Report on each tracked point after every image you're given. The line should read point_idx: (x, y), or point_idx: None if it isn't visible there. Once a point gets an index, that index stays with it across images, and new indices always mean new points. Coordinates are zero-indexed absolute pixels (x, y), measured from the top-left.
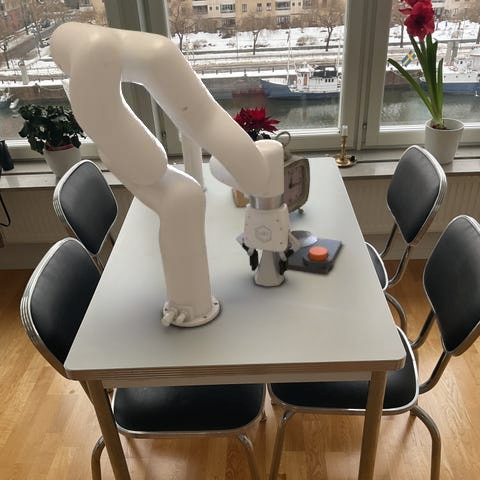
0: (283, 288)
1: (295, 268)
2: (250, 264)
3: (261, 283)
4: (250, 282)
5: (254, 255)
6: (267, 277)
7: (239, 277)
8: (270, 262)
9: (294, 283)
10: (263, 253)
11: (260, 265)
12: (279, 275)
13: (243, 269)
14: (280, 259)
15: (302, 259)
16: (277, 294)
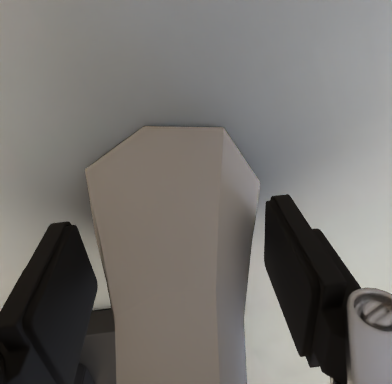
0: (45, 155)
1: (97, 319)
2: (316, 233)
3: (184, 133)
4: (266, 136)
5: (315, 311)
6: (143, 169)
7: (348, 158)
8: (132, 285)
9: (26, 223)
10: (214, 361)
11: (225, 237)
12: (95, 229)
13: (345, 232)
14: (38, 344)
15: (96, 374)
16: (29, 73)
